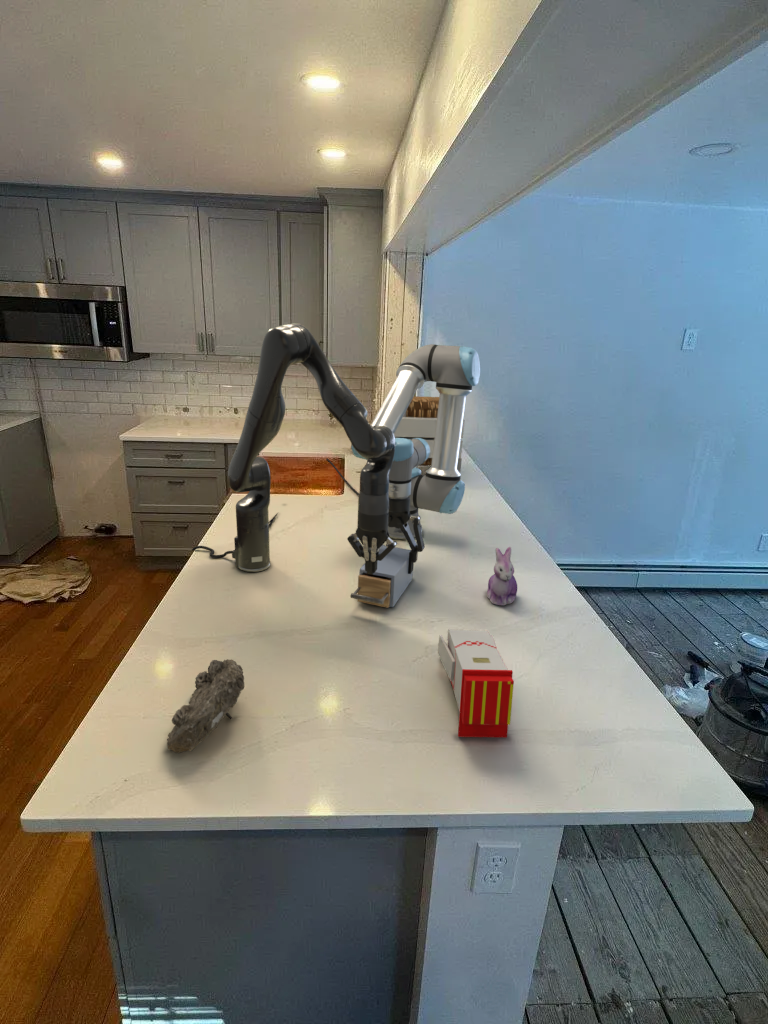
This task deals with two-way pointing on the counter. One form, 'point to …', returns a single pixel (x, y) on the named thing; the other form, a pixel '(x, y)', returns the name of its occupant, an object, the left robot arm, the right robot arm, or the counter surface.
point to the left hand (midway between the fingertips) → (370, 572)
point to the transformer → (423, 424)
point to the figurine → (502, 580)
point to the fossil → (206, 705)
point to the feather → (272, 520)
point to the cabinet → (393, 571)
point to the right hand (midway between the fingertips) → (392, 568)
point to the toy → (478, 682)
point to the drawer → (373, 590)
